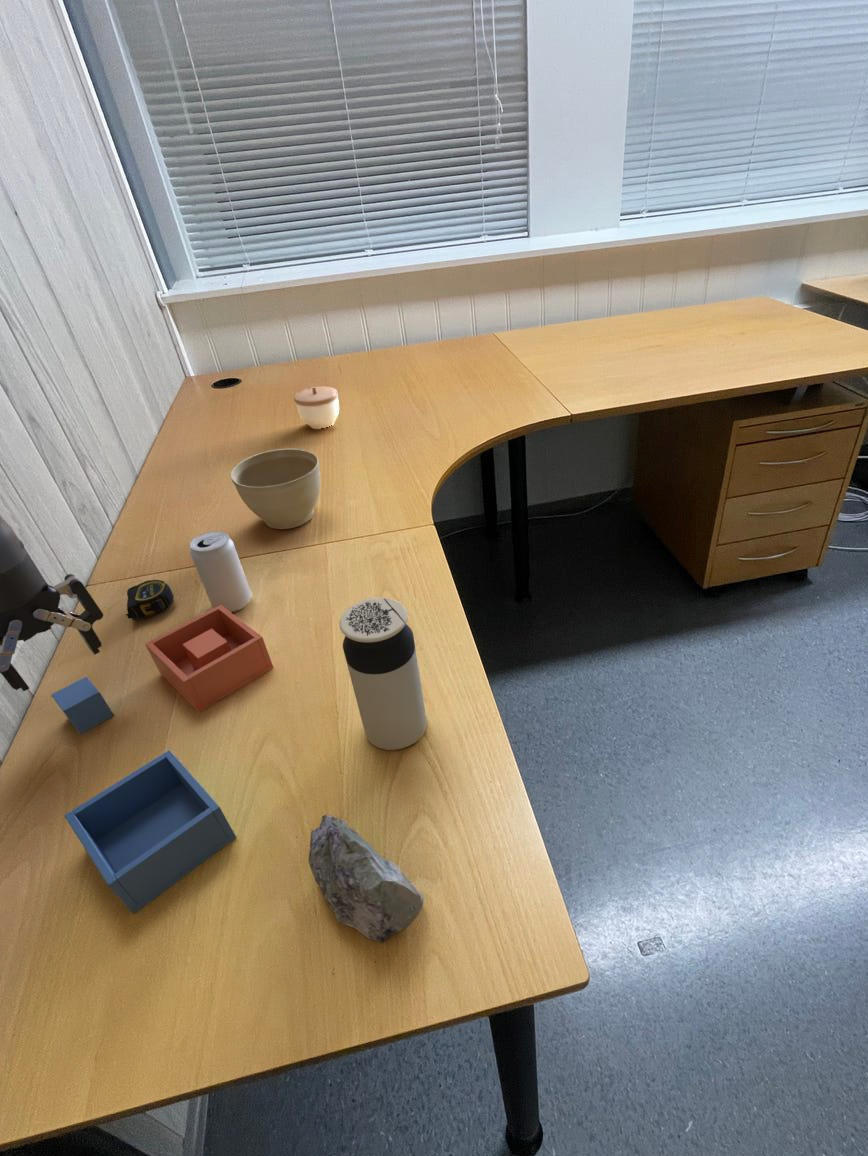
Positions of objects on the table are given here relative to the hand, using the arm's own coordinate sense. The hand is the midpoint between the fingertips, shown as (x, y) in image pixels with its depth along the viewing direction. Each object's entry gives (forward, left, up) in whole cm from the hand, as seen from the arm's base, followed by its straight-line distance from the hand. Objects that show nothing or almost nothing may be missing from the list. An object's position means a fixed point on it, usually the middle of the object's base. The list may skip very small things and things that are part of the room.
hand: (60, 668), depth 78 cm
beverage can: (+26, +8, -9) cm, 29 cm away
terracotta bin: (+16, -5, -9) cm, 19 cm away
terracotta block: (+16, -5, -8) cm, 18 cm away
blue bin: (-2, -26, -9) cm, 27 cm away
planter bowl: (+48, +25, -9) cm, 55 cm away
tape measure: (+16, +17, -9) cm, 25 cm away
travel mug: (+26, -33, -9) cm, 43 cm away
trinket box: (+81, +60, -9) cm, 101 cm away
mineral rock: (+10, -47, -9) cm, 49 cm away
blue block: (0, 0, -9) cm, 9 cm away
